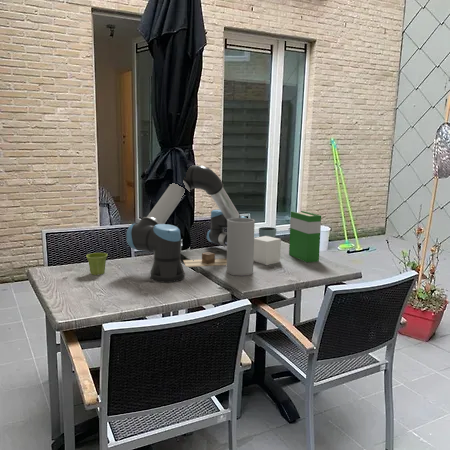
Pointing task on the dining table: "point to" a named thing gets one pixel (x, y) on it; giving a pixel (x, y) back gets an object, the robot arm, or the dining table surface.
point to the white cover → (267, 250)
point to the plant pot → (97, 263)
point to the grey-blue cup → (267, 231)
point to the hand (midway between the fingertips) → (255, 246)
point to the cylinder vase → (240, 246)
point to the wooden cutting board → (199, 263)
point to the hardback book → (305, 236)
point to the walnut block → (208, 257)
